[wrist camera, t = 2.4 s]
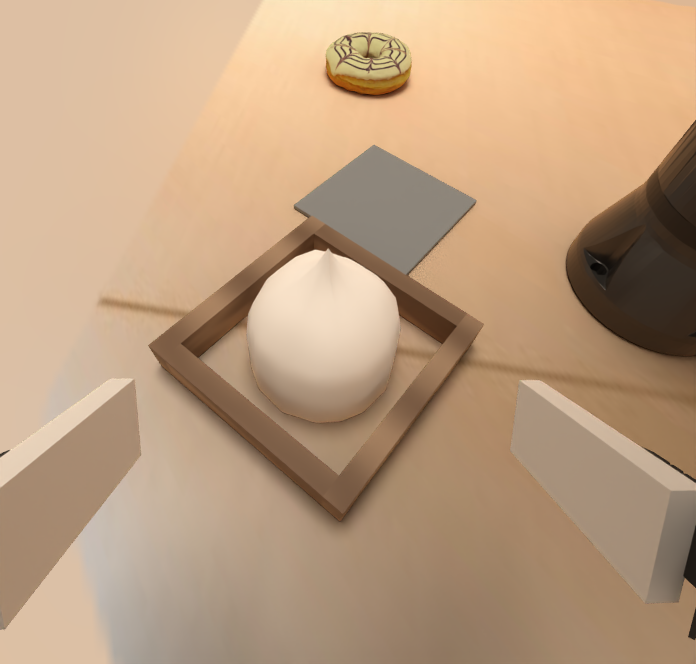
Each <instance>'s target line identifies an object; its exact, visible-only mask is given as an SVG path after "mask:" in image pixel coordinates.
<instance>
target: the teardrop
mask: <svg viewBox="0 0 696 664" xmlns="http://www.w3.org/2000/svg"><path fill="white" fill-rule="evenodd" d="M400 331H401V326H400V319H399V312H398V306H397V301H396V298H395V296H394V295H393V294H392V292H391V291H390V289H389V288H388V287H387V285H386V284H385V283H384V281H382V280H381V279H380V278H379V277H378V276H377V275H375V274H374V273H372V272H371V271H369V270H367V269H366V268H364V267H363V266H361V265H360V264H358V263H356V262H354V261H353V260H351V259H349V258H346V257H342V256H339V255H336V254H333V253H331V251H330V250H329V249H327V250H326V252H325V251H320V250H313V251H310V252H308V253H305V254H302V255H299V256H296V257H295V258H293V259H292V260H291V261H289V262H288V263H287V264H285V265H284V266H283V267H281V268H280V269H279V270H277V271H276V272H275V273H274V274H272V275H271V276H270V277H269V278H268V279H267V280H266V282H265V283H264V285H263V287H262V288H261V290H260V292H259V294H258V295H257V297H256V299H255V300H254V302H253V304H252V306H251V309H250V311H249V313H248V322H247V342H248V349H249V355H250V362H251V369H252V371H253V374H254V377H255V380H256V383H257V385H258V388H259V390H260V391H261V392H262V393H263V394H264V395H265V396H266V397H267V398H268V399H269V400H270V401H271V402H272V403H273V404H274V405H275V406H276V407H277V408H278V409H279V410H280V411H281V412H283V413H286V414H289V415H292V416H295V417H298V418H302V419H305V420H308V421H311V422H314V423H325V422H341V421H343V420H346V419H348V418H351V417H353V416H356V415H358V414H361V413H363V412H364V411H365V410H366V409H367V408H368V407H369V406H370V405H371V404H372V403H373V402H374V401H375V400H376V399H377V398H378V397H379V396H380V395H381V394H382V393H383V392H384V391H385V390H386V388H387V384H388V381H389V377H390V374H391V370H392V367H393V363H394V359H395V354H396V350H397V345H398V340H399V336H400Z"/></svg>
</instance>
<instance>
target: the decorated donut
mask: <svg viewBox="0 0 696 664" xmlns="http://www.w3.org/2000/svg"><path fill="white" fill-rule="evenodd" d="M411 63H412V61H411V53H410V50H409V48H408V47H407V46H406V45H405V44H404V43H402V42H401V41H400V40H399V39H397V38H395V37H392V36H389V35H386V34H383V33H366V32H362V33H354V34H349V35H346V36H343V37H341V38H339V39H338V40H336V41H335V42H333V43H332V44H331V45H330V46H329V47H328V49H327V51H326V69H327V74H328V76H329V77H330V78H331V80H332V81H333V82H334V83H335V84H336V85H338V86H341V87H344V88H345V89H346V90H348V91H356V92H358V93H360V94H363V93H364V94H371V95H380V94H384V93H388V92H392V91H394V90H396V89H398V88H399V87H401V86H402V85H403V84H404V82H405V81H406V80H407V79H408V78H409V76H410V71H411Z"/></svg>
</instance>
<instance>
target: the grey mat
mask: <svg viewBox="0 0 696 664" xmlns="http://www.w3.org/2000/svg"><path fill="white" fill-rule="evenodd" d="M476 201H477V200H475V199H473V198H471V197H469V196H468V195H466V194H464V193H462V192H460V191H458V190H456V189H455V188H453V187H451V186H449V185H447V184H445V183H444V182H442V181H440V180H438V179H436V178H434V177H433V176H431V175H429V174H427V173H425V172H423V171H421V170H420V169H418V168H416V167H414V166H412V165H410V164H409V163H407V162H405V161H403V160H401V159H399V158H397V157H396V156H394V155H392V154H390V153H388V152H386V151H385V150H383V149H381V148H379V147H377V146H375V145H373V146H372V147H370V148H369V149H368V150H366V151H365V152H364V153H362V154H361V155H360V156H358V157H357V158H356V159H354V160H353V161H352V162H350V163H349V164H348V165H346V166H345V167H344V168H342V169H341V170H340V171H338V172H337V173H336V174H334V175H333V176H332V177H330V178H329V179H328V180H326V181H325V182H324V183H323V184H321V185H320V186H319V187H317V188H316V189H315V190H313V191H312V192H311V193H309V194H308V195H307V196H305V197H304V198H303V199H301V200H300V201H299V202H297V203H296V204H295V205H294V209H296V210H298V211H299V212H301V213H302V214H304V215H305V216H307V217H311V216H314V217H315V218H317V219H318V220H320V221H322V222H323V223H325V224H326V225H328V226H329V227H331V228H333V229H334V230H336V231H337V232H339V233H341V234H342V235H344V236H345V237H347V238H348V239H350V240H352V241H353V242H355V243H356V244H358V245H359V246H361V247H363V248H364V249H366V250H367V251H369V252H371V253H372V254H374V255H375V256H377V257H378V258H380V259H382V260H383V261H385V262H386V263H388V264H390V265H391V266H393V267H394V268H396V269H397V270H399V271H401V272H402V273H404V274H405V275H408V274H409V273H410V272H411V271H412V270H413V269H414V268H415V267H416V265H417V264H418V263H419V262H420V261H421V260H422V259H423V258H424V257H425V256H426V255H427V254H428V253H429V252H430V251H431V250H432V249H433V248H434V247H435V245H436V244H437V243H438V242H439V241H440V240H441V239H442V238H443V237H444V236H445V235H446V234H447V233H448V232H449V231H450V230H451V229H452V228H453V227H454V225H455V224H456V223H457V222H458V221H459V220H460V219H461V218H462V217H463V216H464V215H465V214H466V213H467V212H468V211H469V210H470V209H471V208H472V207H473V205H474V204H475V203H476Z"/></svg>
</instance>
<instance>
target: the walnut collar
mask: <svg viewBox="0 0 696 664" xmlns="http://www.w3.org/2000/svg"><path fill="white" fill-rule="evenodd" d="M327 249H329V250H330V251H331V253H333V254H336V255H339V256H342V257H346V258H349V259H351V260H353V261H354V262H356V263H358V264H360V265H361V266H363V267H364V268H366V269H367V270H369V271H371V272H372V273H374V274H375V275H377V276H378V277H379V278H380V279H381V280H382V281H384V283H385V284H386V285H387V287H388V288H389V289H390V291H391V292H392V294H393V295H394V296H395V298H396V301H397V306H398V312H399V315H400V316H402V317H403V318H405V319H406V320H408V321H409V322H411V323H412V324H414V325H415V326H417V327H418V328H420V329H421V330H423V331H424V332H426V333H427V334H429V335H430V336H432V337H433V338H435V339H436V340H438V341H439V342H441V343H442V346H441V347H440V348H439V350H438V351H437V352H436V353H435V355H434V356H433V357H432V358H431V360H430V361H429V362H428V364H427V365H426V366H425V367H424V369H423V370H422V371H421V372H420V374H419V375H418V376H417V378H416V379H415V380H414V381H413V383H412V384H411V385H410V386H409V388H408V389H407V390H406V391H405V393H404V394H403V395H402V397H401V398H400V399H399V400H398V402H397V403H396V404H395V405H394V407H393V408H392V409H391V411H390V412H389V413H388V414H387V416H386V417H385V418H384V419H383V421H382V422H381V423H380V424H379V426H378V427H377V428H376V430H375V431H374V432H373V433H372V435H371V436H370V437H369V438H368V440H367V441H366V442H365V444H364V445H363V446H362V447H361V449H360V450H359V451H358V452H357V454H356V455H355V456H354V458H353V459H352V460H351V461H350V463H349V464H348V465H347V466H346V468H345V469H344V470H343V471H342V473H341V474H340V475H337V474H336V473H335V472H334V471H333V470H331V469H330V468H329V467H328V466H327V465H325V464H324V463H323V462H322V461H321V460H319V459H318V458H317V457H316V456H315V455H313V454H312V453H311V452H310V451H309V450H307V449H306V448H305V447H304V446H303V445H302V444H300V443H299V442H298V441H297V440H296V439H294V438H293V437H292V436H291V435H290V434H288V433H287V432H286V431H285V430H284V429H282V428H281V427H280V426H279V425H278V424H276V423H275V422H274V421H273V420H272V419H270V418H269V417H268V416H267V415H266V414H264V413H263V412H262V411H261V410H260V409H258V408H257V407H256V406H255V405H254V404H252V403H251V402H250V401H249V400H248V399H246V398H245V397H244V396H243V395H242V394H240V393H239V392H238V391H237V390H236V389H235V388H233V387H232V386H231V385H230V384H229V383H227V382H226V381H225V380H224V379H223V378H221V377H220V376H219V375H218V374H217V373H215V372H214V371H213V370H212V369H211V368H209V367H208V366H207V365H206V364H205V363H203V362H202V361H201V360H200V359H199V358H198V357H199V356H200V355H202V354H203V353H204V352H205V351H206V350H207V349H209V348H210V347H211V346H212V345H213V344H214V343H215V342H217V341H218V340H219V339H220V338H221V337H222V336H224V335H225V334H226V333H227V332H228V331H229V330H231V329H232V328H233V327H234V326H235V325H236V324H237V323H239V322H240V321H241V320H242V319H243V318H244V317H246V316H247V315H248V313H249V311H250V309H251V306H252V304H253V302H254V300H255V299H256V297H257V295H258V294H259V292H260V290H261V288H262V287H263V285H264V283H265V282H266V280H267V279H268V278H269V277H270V276H271V275H272V274H274V273H275V272H276V271H277V270H279V269H280V268H281V267H283V266H284V265H285V264H287V263H288V262H289V261H291V260H292V259H293V258H295V257H296V256H299V255H302V254H305V253H308V252H310V251H313V250H320V251H325V252H326V250H327ZM483 325H484V324H483V323H481V322H480V321H478V320H477V319H475V318H473V317H472V316H470V315H469V314H467V313H466V312H464V311H462V310H461V309H459V308H458V307H456V306H454V305H453V304H451V303H450V302H448V301H447V300H445V299H443V298H442V297H440V296H439V295H437V294H435V293H434V292H432V291H431V290H429V289H428V288H426V287H424V286H423V285H421V284H420V283H418V282H416V281H415V280H413V279H412V278H410V277H409V276H407V275H405V274H404V273H402V272H401V271H399V270H397V269H396V268H394V267H393V266H391V265H390V264H388V263H386V262H385V261H383V260H382V259H380V258H378V257H377V256H375V255H374V254H372V253H371V252H369V251H367V250H366V249H364V248H363V247H361V246H359V245H358V244H356V243H355V242H353V241H352V240H350V239H348V238H347V237H345V236H344V235H342V234H341V233H339V232H337V231H336V230H334V229H333V228H331V227H329V226H328V225H326V224H325V223H323V222H322V221H320V220H318V219H317V218H315V217H314V216H311V217H309V218H308V219H307V220H306V221H304V222H303V223H302V224H301V225H299V226H298V227H297V228H296V229H294V230H293V231H292V232H290V233H289V234H288V235H287V236H285V237H284V238H283V239H282V240H280V241H279V242H278V243H277V244H275V245H274V246H273V247H272V248H270V249H269V250H268V251H267V252H265V253H264V254H263V255H262V256H260V257H259V258H258V259H256V260H255V261H254V262H253V263H251V264H250V265H249V266H248V267H246V268H245V269H244V270H243V271H241V272H240V273H239V274H238V275H236V276H235V277H234V278H233V279H231V280H230V281H229V282H228V283H226V284H225V285H224V286H222V287H221V288H220V289H219V290H217V291H216V292H215V293H214V294H212V295H211V296H210V297H209V298H207V299H206V300H205V301H204V302H202V303H201V304H200V305H199V306H197V307H196V308H195V309H194V310H192V311H191V312H190V313H188V314H187V315H186V316H185V317H183V318H182V319H181V320H180V321H178V322H177V323H176V324H175V325H173V326H172V327H171V328H170V329H168V330H167V331H166V332H165V333H163V334H162V335H161V336H159V337H158V338H157V339H156V340H154V341H153V342H152V343H151V344H149V345H148V346H149V347H150V349H151V351H152V352H153V354H154V355H155V357H156V358H157V360H158V361H159V363H160V364H161V366H162V367H163V368H165V369H166V370H167V371H168V372H169V373H170V374H171V375H173V376H174V377H175V378H176V379H177V380H178V381H179V382H181V383H182V384H183V385H184V386H185V387H186V388H187V389H189V390H190V391H191V392H192V393H193V394H194V395H195V396H197V397H198V398H199V399H200V400H201V401H202V402H204V403H205V404H206V405H207V406H208V407H209V408H210V409H212V410H213V411H214V412H215V413H216V414H217V415H218V416H220V417H221V418H222V419H223V420H224V421H225V422H226V423H228V424H229V425H230V426H231V427H232V428H233V429H234V430H236V431H237V432H238V433H239V434H240V435H241V436H242V437H244V438H245V439H246V440H247V441H248V442H249V443H250V444H252V445H253V446H254V447H255V448H256V449H257V450H258V451H260V452H261V453H262V454H263V455H264V456H265V457H266V458H268V459H269V460H270V461H271V462H272V463H273V464H274V465H276V466H277V467H278V468H279V469H280V470H281V471H283V472H284V473H285V474H286V475H287V476H288V477H289V478H291V479H292V480H293V481H294V482H295V483H296V484H297V485H299V486H300V487H301V488H302V489H303V490H304V491H305V492H307V493H308V494H309V495H310V496H311V497H312V498H313V499H315V500H316V501H317V502H318V503H319V504H320V505H321V506H323V507H324V508H325V509H326V510H327V511H328V512H329V513H331V514H332V515H333V516H334V517H335V518H336V519H337V520H339V521H341V520H342V518H343V517H344V516H345V514H346V513H347V512H348V510H349V509H350V508H351V506H352V505H353V504H354V502H355V501H356V500H357V498H358V497H359V495H360V494H361V493H362V491H363V490H364V489H365V487H366V486H367V485H368V483H369V482H370V481H371V479H372V478H373V477H374V475H375V474H376V473H377V471H378V470H379V468H380V467H381V466H382V464H383V463H384V462H385V460H386V459H387V458H388V456H389V455H390V454H391V452H392V451H393V450H394V448H395V447H396V446H397V444H398V443H399V442H400V440H401V439H402V437H403V436H404V435H405V433H406V432H407V431H408V429H409V428H410V427H411V425H412V424H413V423H414V421H415V420H416V419H417V417H418V416H419V415H420V413H421V412H422V410H423V409H424V408H425V406H426V405H427V404H428V402H429V401H430V400H431V398H432V397H433V396H434V394H435V393H436V392H437V390H438V389H439V388H440V386H441V385H442V383H443V382H444V381H445V379H446V378H447V377H448V375H449V374H450V373H451V371H452V370H453V369H454V367H455V366H456V365H457V363H458V362H459V361H460V359H461V358H462V356H463V355H464V354H465V352H466V351H467V350H468V348H469V347H470V346H471V344H472V343H473V341H474V340H475V338H476V336H477V335H478V333H479V332H480V330H481V329H482V327H483Z"/></svg>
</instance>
